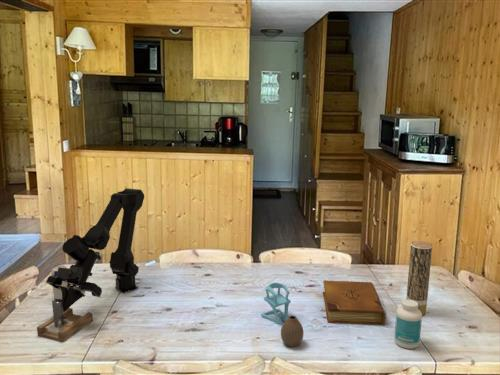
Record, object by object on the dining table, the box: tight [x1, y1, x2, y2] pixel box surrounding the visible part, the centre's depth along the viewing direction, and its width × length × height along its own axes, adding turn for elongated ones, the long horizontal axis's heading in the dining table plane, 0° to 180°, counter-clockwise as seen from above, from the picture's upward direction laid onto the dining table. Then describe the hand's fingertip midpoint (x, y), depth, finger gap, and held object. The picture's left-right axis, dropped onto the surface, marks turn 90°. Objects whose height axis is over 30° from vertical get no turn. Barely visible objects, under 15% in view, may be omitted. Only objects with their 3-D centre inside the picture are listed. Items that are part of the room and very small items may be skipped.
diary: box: [322, 280, 386, 326], centre depth 164 cm, size 23×19×6 cm
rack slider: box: [45, 299, 73, 335], centre depth 146 cm, size 6×6×10 cm
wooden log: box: [405, 240, 433, 316], centre depth 159 cm, size 7×7×25 cm
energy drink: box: [51, 265, 67, 301], centre depth 169 cm, size 5×5×12 cm
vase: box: [280, 315, 304, 348], centre depth 141 cm, size 7×7×9 cm
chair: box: [260, 282, 291, 325], centre depth 156 cm, size 8×8×12 cm
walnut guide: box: [36, 307, 94, 343], centre depth 149 cm, size 14×10×3 cm
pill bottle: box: [393, 299, 423, 350], centre depth 140 cm, size 8×7×14 cm
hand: (62, 311), depth 147 cm, fingers closed
